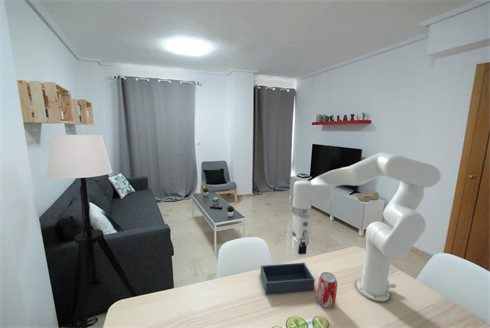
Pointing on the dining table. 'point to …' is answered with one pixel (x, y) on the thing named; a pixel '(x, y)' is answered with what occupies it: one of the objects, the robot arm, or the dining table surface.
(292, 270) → the bin
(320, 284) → the soda can
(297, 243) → the white cylinder
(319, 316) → the dining table surface
